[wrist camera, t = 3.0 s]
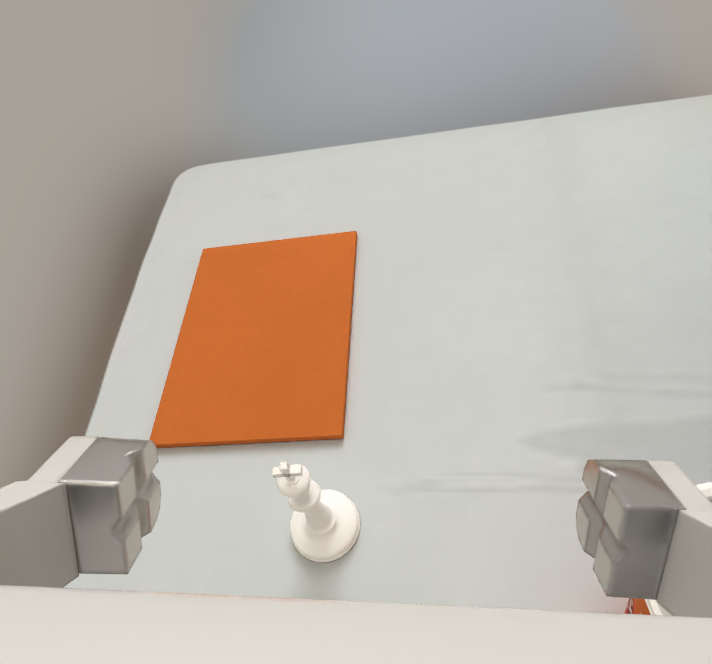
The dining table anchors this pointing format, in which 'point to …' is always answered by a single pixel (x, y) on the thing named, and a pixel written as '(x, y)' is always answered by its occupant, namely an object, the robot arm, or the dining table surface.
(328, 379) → the cloth mat
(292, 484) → the chess piece
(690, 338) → the dining table surface
